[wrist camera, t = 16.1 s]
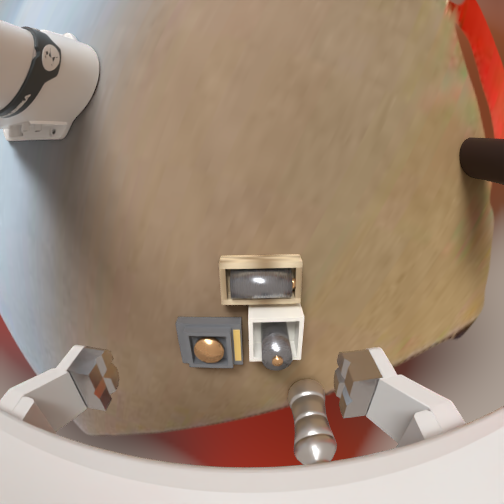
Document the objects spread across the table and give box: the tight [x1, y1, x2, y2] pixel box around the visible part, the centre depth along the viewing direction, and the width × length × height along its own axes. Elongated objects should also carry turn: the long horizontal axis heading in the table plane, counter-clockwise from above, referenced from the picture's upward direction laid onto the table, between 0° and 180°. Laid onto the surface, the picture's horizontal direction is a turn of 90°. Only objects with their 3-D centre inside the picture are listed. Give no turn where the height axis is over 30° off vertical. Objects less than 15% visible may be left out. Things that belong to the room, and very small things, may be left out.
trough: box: [219, 254, 303, 305], centre depth 40 cm, size 11×6×3 cm, turn 91°
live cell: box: [230, 268, 296, 299], centre depth 39 cm, size 9×4×4 cm, turn 91°
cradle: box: [176, 317, 243, 368], centre depth 44 cm, size 10×8×4 cm
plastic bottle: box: [288, 379, 337, 465], centre depth 40 cm, size 6×7×20 cm
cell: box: [261, 322, 293, 370], centre depth 39 cm, size 4×4×9 cm
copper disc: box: [194, 337, 224, 363], centre depth 42 cm, size 5×5×1 cm
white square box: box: [248, 303, 304, 361], centre depth 42 cm, size 8×8×5 cm
